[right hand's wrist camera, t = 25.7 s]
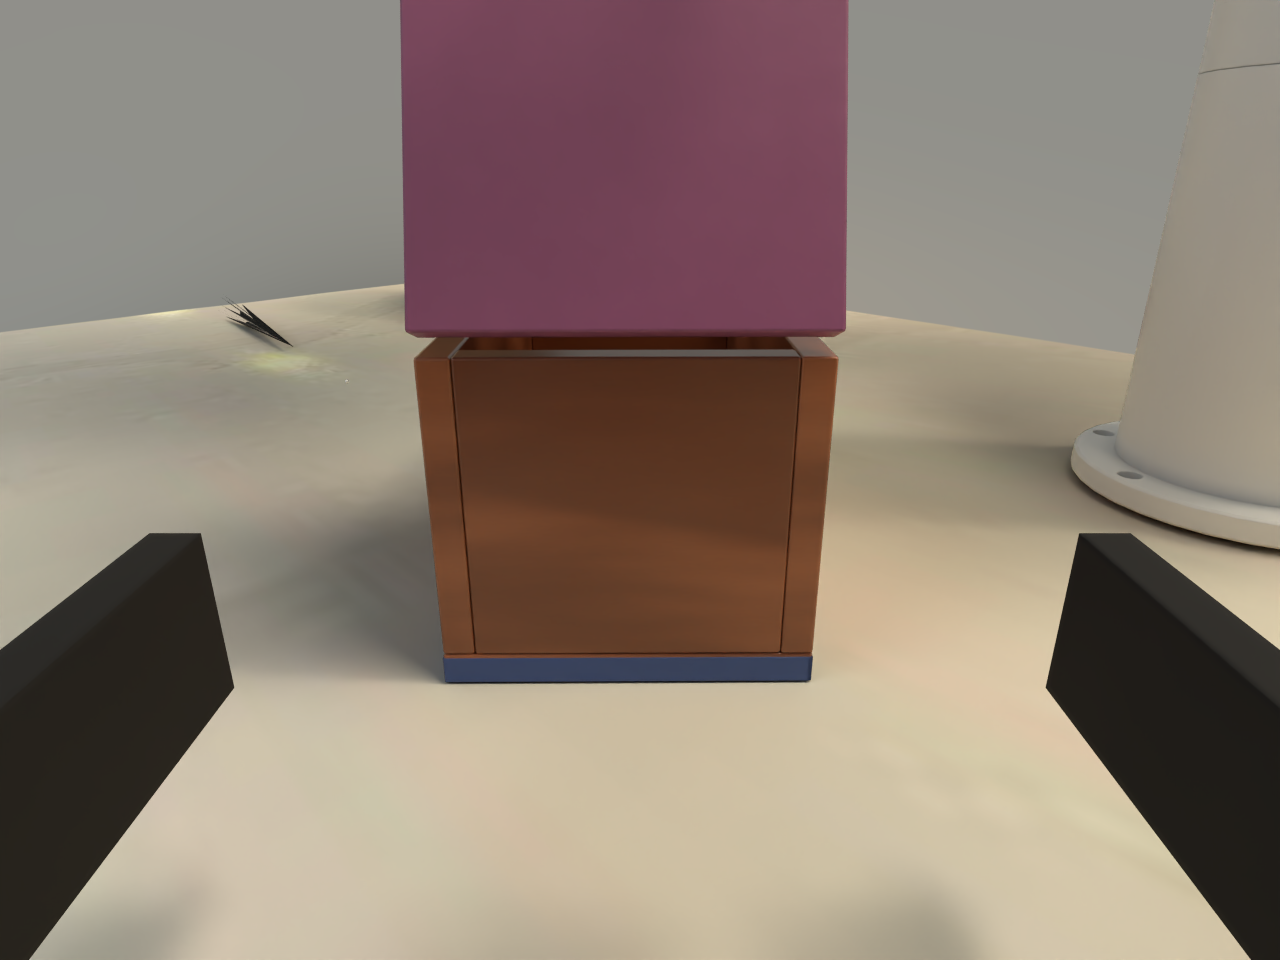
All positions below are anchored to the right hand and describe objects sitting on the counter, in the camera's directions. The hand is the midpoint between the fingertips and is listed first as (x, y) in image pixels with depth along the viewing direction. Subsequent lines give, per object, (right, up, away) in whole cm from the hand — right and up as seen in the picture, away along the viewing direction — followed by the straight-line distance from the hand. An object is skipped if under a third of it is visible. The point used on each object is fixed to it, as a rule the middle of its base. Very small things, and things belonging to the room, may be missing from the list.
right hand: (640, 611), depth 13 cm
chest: (0, 0, +17) cm, 17 cm away
